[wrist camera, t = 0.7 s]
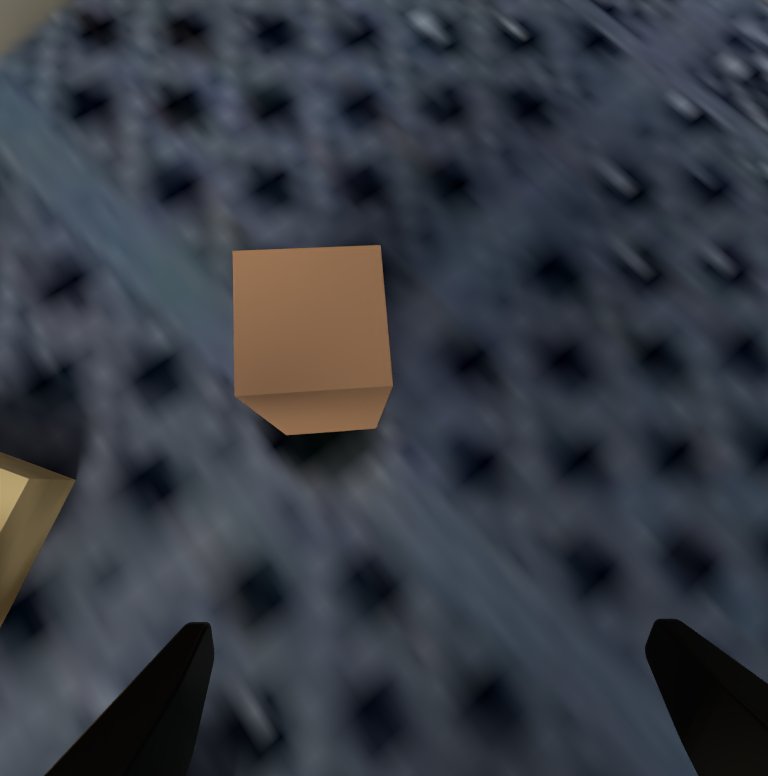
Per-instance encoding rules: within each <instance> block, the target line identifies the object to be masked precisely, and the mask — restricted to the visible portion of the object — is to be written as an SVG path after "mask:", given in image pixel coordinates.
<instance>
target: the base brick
mask: <svg viewBox="0 0 768 776" xmlns="http://www.w3.org/2000/svg"><path fill="white" fill-rule="evenodd" d="M75 481H76V480H74V479H72V478H69V477H66V476H64V475H61V474H58V473H56V472H53V471H50V470H47V469H45V468H42V467H39V466H37V465H34V464H31V463H29V462H26V461H23V460H21V459H18V458H15V457H13V456H10V455H7V454H4V453H2V452H0V627H1V625H2V623H3V621H4V619H5V617H6V615H7V614H8V612H9V610H10V608H11V606H12V604H13V602H14V600H15V598H16V596H17V594H18V592H19V590H20V588H21V586H22V584H23V582H24V580H25V578H26V576H27V574H28V572H29V571H30V569H31V567H32V565H33V563H34V561H35V559H36V557H37V555H38V553H39V551H40V549H41V547H42V545H43V543H44V541H45V539H46V537H47V535H48V533H49V531H50V529H51V528H52V526H53V524H54V522H55V520H56V518H57V516H58V514H59V512H60V510H61V508H62V506H63V504H64V502H65V500H66V498H67V496H68V494H69V492H70V490H71V488H72V487H73V485H74V483H75Z"/></svg>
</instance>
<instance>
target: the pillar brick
mask: <svg viewBox="0 0 768 776" xmlns="http://www.w3.org/2000/svg"><path fill="white" fill-rule="evenodd" d="M233 302H234V376H235V397H236V398H238V399H239V400H240V401H242V402H243V403H244V404H246V405H247V406H248V407H250V408H251V409H252V410H254V411H255V412H256V413H258V414H259V415H260V416H262V417H263V418H264V419H266V420H267V421H268V422H270V423H271V424H272V425H274V426H275V427H276V428H278V429H279V430H280V431H282V432H283V433H284V434H286V435H294V434H308V433H321V432H335V431H348V430H362V429H375V428H376V427H377V425H378V422H379V420H380V417H381V415H382V412H383V410H384V407H385V405H386V402H387V400H388V397H389V395H390V392H391V390H392V387H393V380H392V369H391V358H390V346H389V335H388V324H387V313H386V301H385V290H384V279H383V268H382V256H381V245H370V246H345V247H320V248H295V249H270V250H245V251H233Z"/></svg>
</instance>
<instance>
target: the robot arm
mask: <svg viewBox="0 0 768 776" xmlns="http://www.w3.org/2000/svg"><path fill="white" fill-rule="evenodd" d="M645 654H646V658H647V661H648V663H649V666H650V668H651V671H652V673H653V675H654V678H655V680H656V683H657V685H658V687H659V690H660V692H661V695H662V697H663V699H664V702H665V704H666V707H667V709H668V711H669V714H670V716H671V719H672V721H673V723H674V726H675V728H676V731H677V733H678V735H679V737H680V739H681V742H682V744H683V746H684V748H685V750H686V752H687V754H688V756H689V758H690V760H691V762H692V764H693V766H694V768H695V770H696V772H697V774H698V776H768V684H767V683H766V682H765V681H763V680H762V679H760V678H759V677H758V676H756V675H755V674H754V673H752V672H751V671H749V670H748V669H747V668H745V667H744V666H742V665H741V664H740V663H738V662H737V661H736V660H734V659H733V658H731V657H730V656H729V655H727V654H726V653H724V652H723V651H722V650H720V649H719V648H718V647H716V646H715V645H713V644H712V643H711V642H709V641H708V640H706V639H705V638H704V637H702V636H701V635H699V634H698V633H697V632H695V631H694V630H693V629H691V628H690V627H688V626H687V625H686V624H684V623H683V622H681V621H679V620H677V619H657V620H656V621H655V622H654V624H653V627H652V629H651V632H650V635H649V637H648V640H647V643H646V646H645ZM213 662H214V646H213V639H212V631H211V626H210V624H209V623H208V622H190V623H188V624H186V625H185V626H184V627H183V628H182V629H181V630H180V631H179V632H178V633H177V634H176V635H175V636H174V637H173V638H172V639H171V641H170V642H169V643H168V644H167V645H166V646H165V647H164V648H163V649H162V650H161V651H160V652H159V653H158V654H157V655H156V657H155V658H154V659H153V660H152V661H151V662H150V663H149V664H148V665H147V666H146V667H145V668H144V669H143V670H142V671H141V673H140V674H139V675H138V676H137V677H136V678H135V679H134V680H133V681H132V682H131V683H130V684H129V685H128V686H127V688H126V689H125V690H124V691H123V692H122V693H121V694H120V695H119V696H118V697H117V698H116V699H115V700H114V701H113V702H112V704H111V705H110V706H109V707H108V708H107V709H106V710H105V711H104V712H103V713H102V714H101V715H100V716H99V717H98V718H97V720H96V721H95V722H94V723H93V724H92V725H91V726H90V727H89V728H88V729H87V730H86V731H85V732H84V733H83V735H82V736H81V737H80V738H79V739H78V740H77V741H76V742H75V743H74V744H73V745H72V746H71V747H70V748H69V749H68V751H67V752H66V753H65V754H64V755H63V756H62V757H61V758H60V759H59V760H58V761H57V762H56V763H55V764H54V765H53V767H52V768H51V769H50V770H49V771H48V772H47V773H46V774H45V775H44V776H186V774H187V771H188V768H189V765H190V761H191V758H192V754H193V750H194V746H195V742H196V738H197V733H198V729H199V725H200V720H201V716H202V711H203V707H204V702H205V698H206V694H207V689H208V685H209V680H210V676H211V672H212V667H213Z"/></svg>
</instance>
